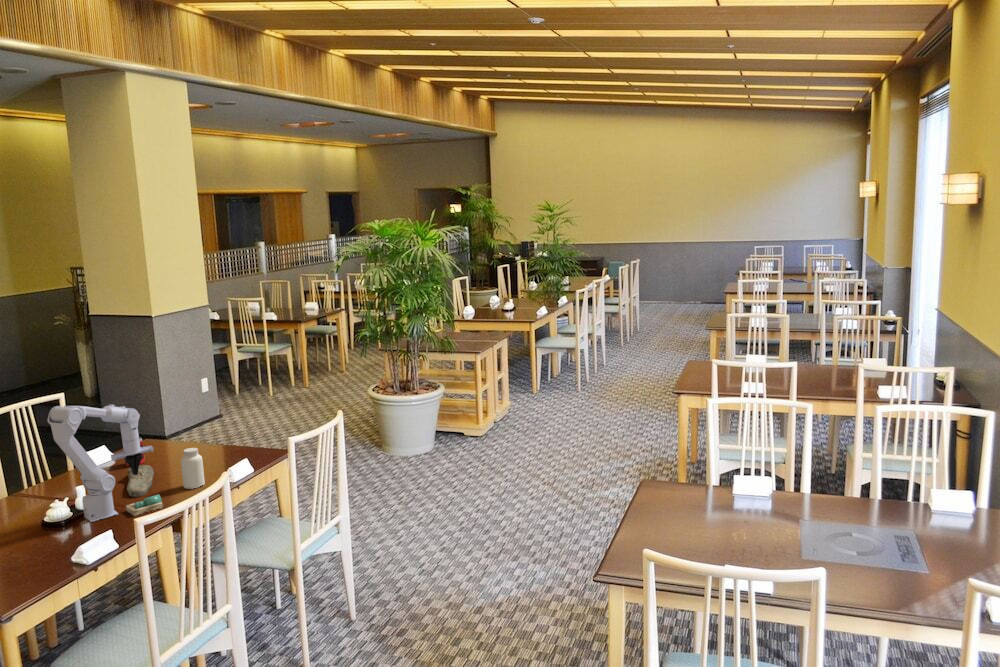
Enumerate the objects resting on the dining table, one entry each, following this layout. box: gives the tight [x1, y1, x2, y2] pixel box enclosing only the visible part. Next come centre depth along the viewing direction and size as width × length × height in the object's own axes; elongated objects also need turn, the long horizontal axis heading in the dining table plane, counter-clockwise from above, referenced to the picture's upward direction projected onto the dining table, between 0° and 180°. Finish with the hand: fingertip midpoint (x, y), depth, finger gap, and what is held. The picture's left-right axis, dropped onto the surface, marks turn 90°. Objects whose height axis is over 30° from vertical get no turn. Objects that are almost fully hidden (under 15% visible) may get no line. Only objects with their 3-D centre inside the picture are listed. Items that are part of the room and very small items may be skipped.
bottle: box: [134, 494, 163, 509], centre depth 285 cm, size 4×4×8 cm
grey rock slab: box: [126, 464, 155, 498], centre depth 313 cm, size 35×5×10 cm
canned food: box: [124, 437, 146, 467], centre depth 339 cm, size 8×8×11 cm
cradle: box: [125, 500, 164, 517], centre depth 284 cm, size 10×8×2 cm
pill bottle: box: [180, 447, 206, 490], centre depth 306 cm, size 8×8×15 cm
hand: (135, 474), depth 292 cm, fingers closed
